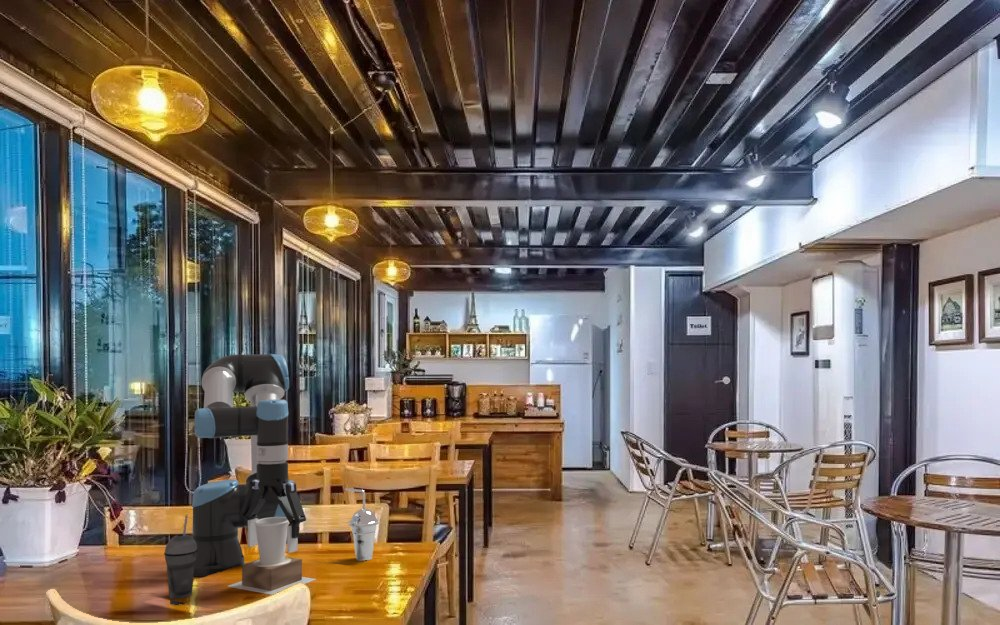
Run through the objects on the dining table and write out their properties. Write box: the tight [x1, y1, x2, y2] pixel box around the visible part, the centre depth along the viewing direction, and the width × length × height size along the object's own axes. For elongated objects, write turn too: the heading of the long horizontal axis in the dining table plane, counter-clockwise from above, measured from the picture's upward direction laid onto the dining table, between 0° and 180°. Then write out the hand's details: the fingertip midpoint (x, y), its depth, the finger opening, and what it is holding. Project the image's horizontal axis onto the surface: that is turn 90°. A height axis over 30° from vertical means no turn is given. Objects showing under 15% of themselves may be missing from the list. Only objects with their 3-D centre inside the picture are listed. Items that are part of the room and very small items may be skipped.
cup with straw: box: [344, 487, 380, 562], centre depth 210 cm, size 8×9×20 cm
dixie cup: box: [254, 517, 289, 565], centre depth 184 cm, size 8×8×10 cm
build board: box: [227, 576, 317, 596], centre depth 183 cm, size 16×14×2 cm
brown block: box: [241, 556, 303, 591], centre depth 183 cm, size 10×10×5 cm
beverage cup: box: [164, 514, 198, 606], centre depth 175 cm, size 7×7×20 cm
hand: (272, 548), depth 183 cm, fingers open, 13 cm apart
